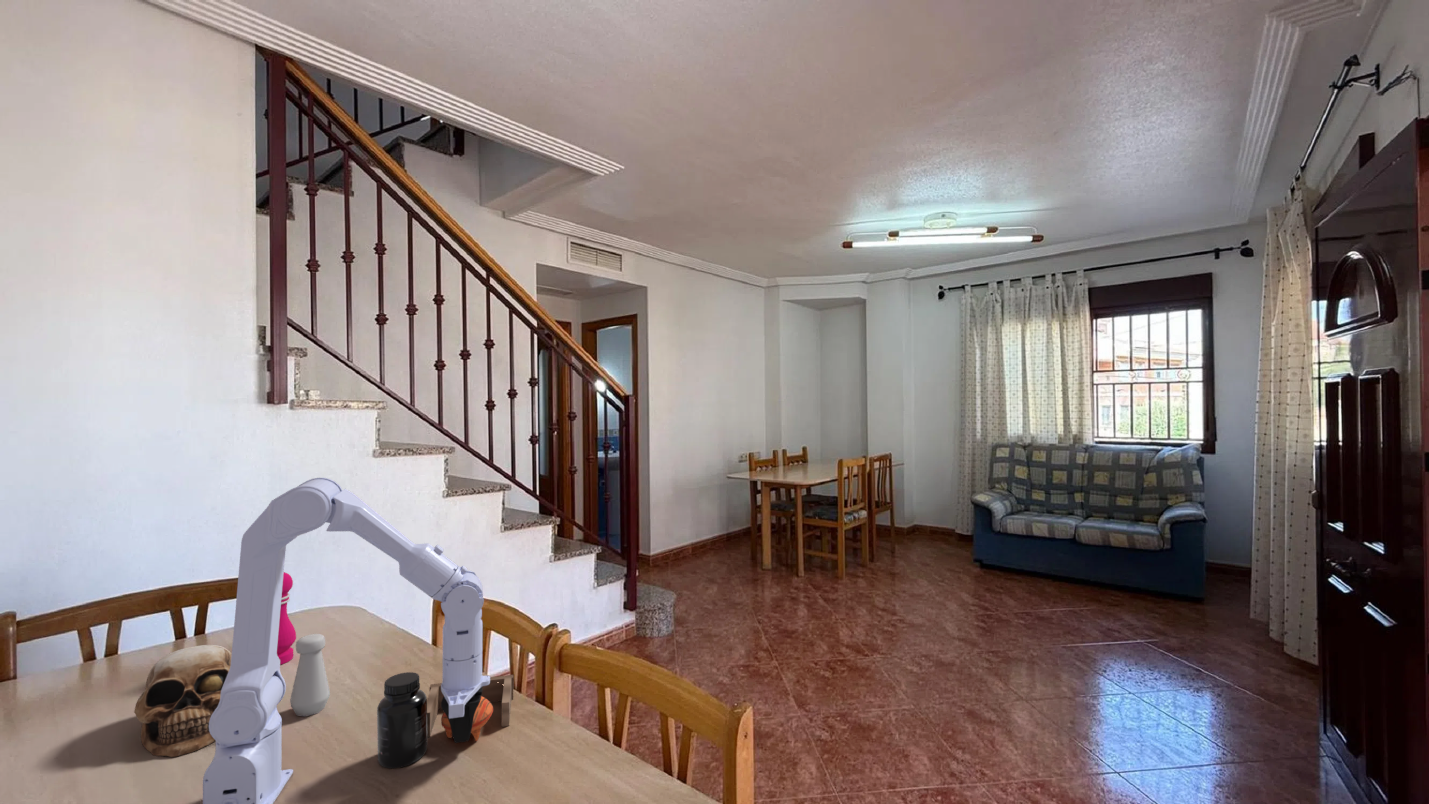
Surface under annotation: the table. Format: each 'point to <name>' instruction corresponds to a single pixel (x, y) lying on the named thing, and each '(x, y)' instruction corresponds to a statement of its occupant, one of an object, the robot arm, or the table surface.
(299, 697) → the salt shaker
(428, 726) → the cradle
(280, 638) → the pepper mill
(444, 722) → the pot
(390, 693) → the supplement bottle
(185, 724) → the skull
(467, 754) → the table surface
